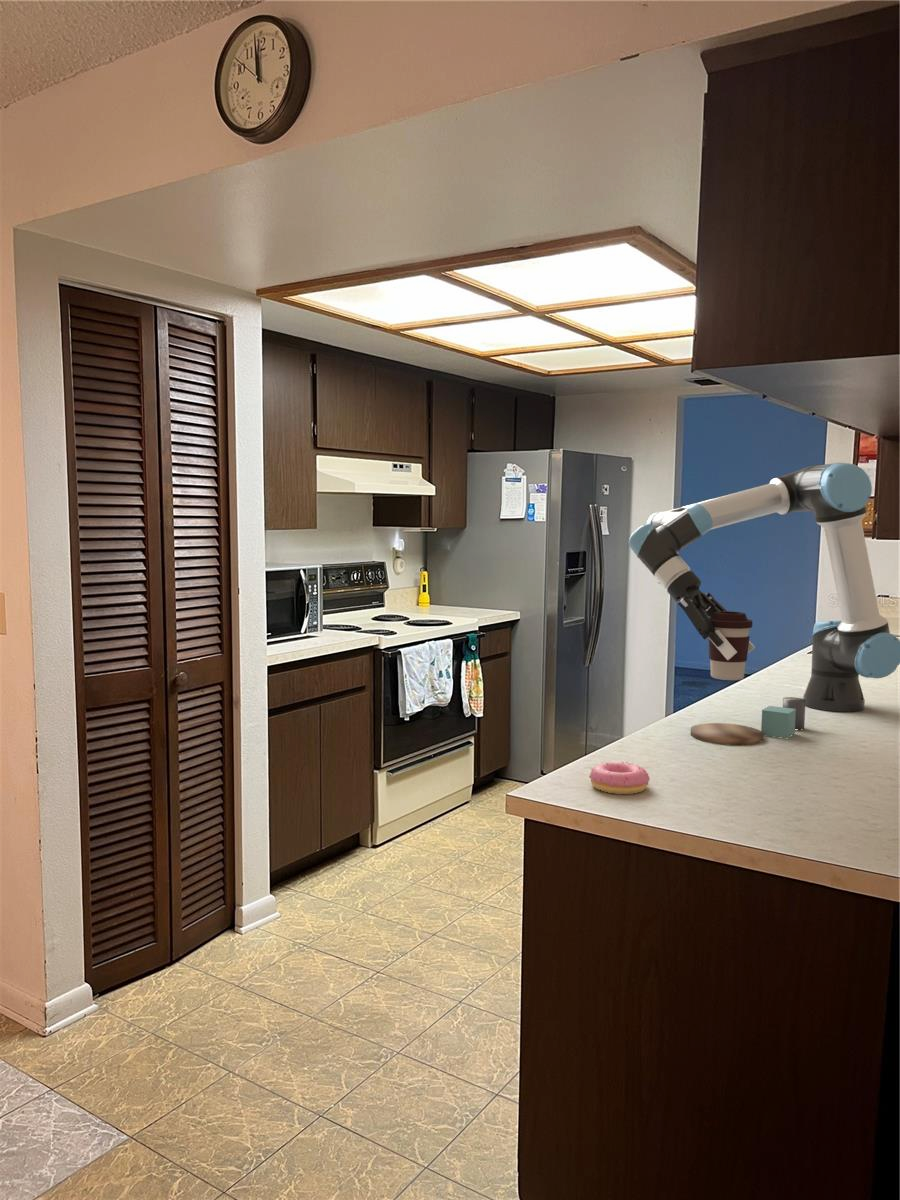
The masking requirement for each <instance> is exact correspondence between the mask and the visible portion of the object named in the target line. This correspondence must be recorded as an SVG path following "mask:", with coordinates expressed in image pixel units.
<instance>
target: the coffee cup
mask: <svg viewBox="0 0 900 1200" xmlns="http://www.w3.org/2000/svg"><path fill="white" fill-rule="evenodd" d="M709 618H710V620H711V622H712V624H713V626H714V628H715V631H716V630H719V631H720V632H721V634H722V635H723V636H724V637H725V638H726V639H727V641H728V642H729V643H730V644H731V645H732V646H733V648H734V649H735V650H736V651H737V653H736V654H735V655H734V656H732V657H731V658H730V659H729V660H727V659H726V658H725V657H724V656H723V654H722V653H721V652H720V651H719V650H718V649H717V647H716V646H715V645H714V644H713V643H712V641H711V640H710V639H709V638H708V656H709V660H710V662H709V663H710V664H709V665H710V667H709V668H710V676H711V678H713V679H716V680H723V681H740V680H743V679H744V678H745V669H746V662H747V661H748V654H749V653H748V646H749V641H750V635H749V634H750V628H751V629H752V628H753V620H752V619H749V618H748V617H747V614H746V613H745V612H740V611H732V610H729V611H728V610H727V611H718V612H714V614H713V616H712V618H711V617H709Z"/></svg>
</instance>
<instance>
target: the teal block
mask: <svg viewBox="0 0 900 1200" xmlns="http://www.w3.org/2000/svg"><path fill="white" fill-rule="evenodd" d="M795 717H796V709H792V708H784V707H783V706H774V705H768V706H766V707H765V708H763V709H761V723H760V724H761V726H760V727H761V729H760V731H762V732H763V734H764V735H765V736H764V737H769V736H775V737H774V738H776V737H782V738H781V739H783V738H789V737H790V736H791V735H793V734H794V733H795V734H796V730H795ZM795 734H794V735H795ZM766 735H767V736H766ZM794 735H793V736H794ZM791 737H792V736H791ZM791 737H790V738H791ZM790 738H789V739H790Z"/></svg>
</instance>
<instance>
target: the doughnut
mask: <svg viewBox="0 0 900 1200" xmlns="http://www.w3.org/2000/svg"><path fill="white" fill-rule="evenodd" d="M590 770H591V771H590V773H589V776H588V777H589V779H590V783H591V785H592V786H593V787H594V788H595V789H596V790H599V791H600V790H601V792H603V791H604V792H603V793H606V792H608V793H607V794H611V793H616V794H615V795H621V794H627V795H634V794H633V793H636V794H638V792H639V793H642V792H643V791H645V790H646V789H647V787H648V786H649V783H650V782H649V781H650V780H651V779H650V775H649V772H647V771H646V769H645V768H644V767H642V766H640V765H637V764H635V763H630V762H623V761H622V762H621V761H610V762H609V761H608V762H606V761H605V762H602V763H599V764H596V765H595V766H594V767H593V768H591V769H590Z"/></svg>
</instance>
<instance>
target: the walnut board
mask: <svg viewBox="0 0 900 1200" xmlns="http://www.w3.org/2000/svg"><path fill="white" fill-rule="evenodd" d="M690 736H691V737H693V738H694V739H696V740H699V741H702V742H705V743H706V742H707V743H710V742H711V743H712V744H717V745H726V744H730V745H729V746H748V745H747V744H750V745H755V744H754V743H756V744H759V742H760V743H761V741H762V742H763V741H764V737H765V736H764V734H763V732H762V731H761V729H758V728H754V727H752V726H747V725H741V724H735V723H721V722H717V723H715V722H713V723H711V722H710V723H708V722H707V723H700V724H696V725H692V726H691V727H690ZM743 744H744V745H743Z"/></svg>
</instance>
